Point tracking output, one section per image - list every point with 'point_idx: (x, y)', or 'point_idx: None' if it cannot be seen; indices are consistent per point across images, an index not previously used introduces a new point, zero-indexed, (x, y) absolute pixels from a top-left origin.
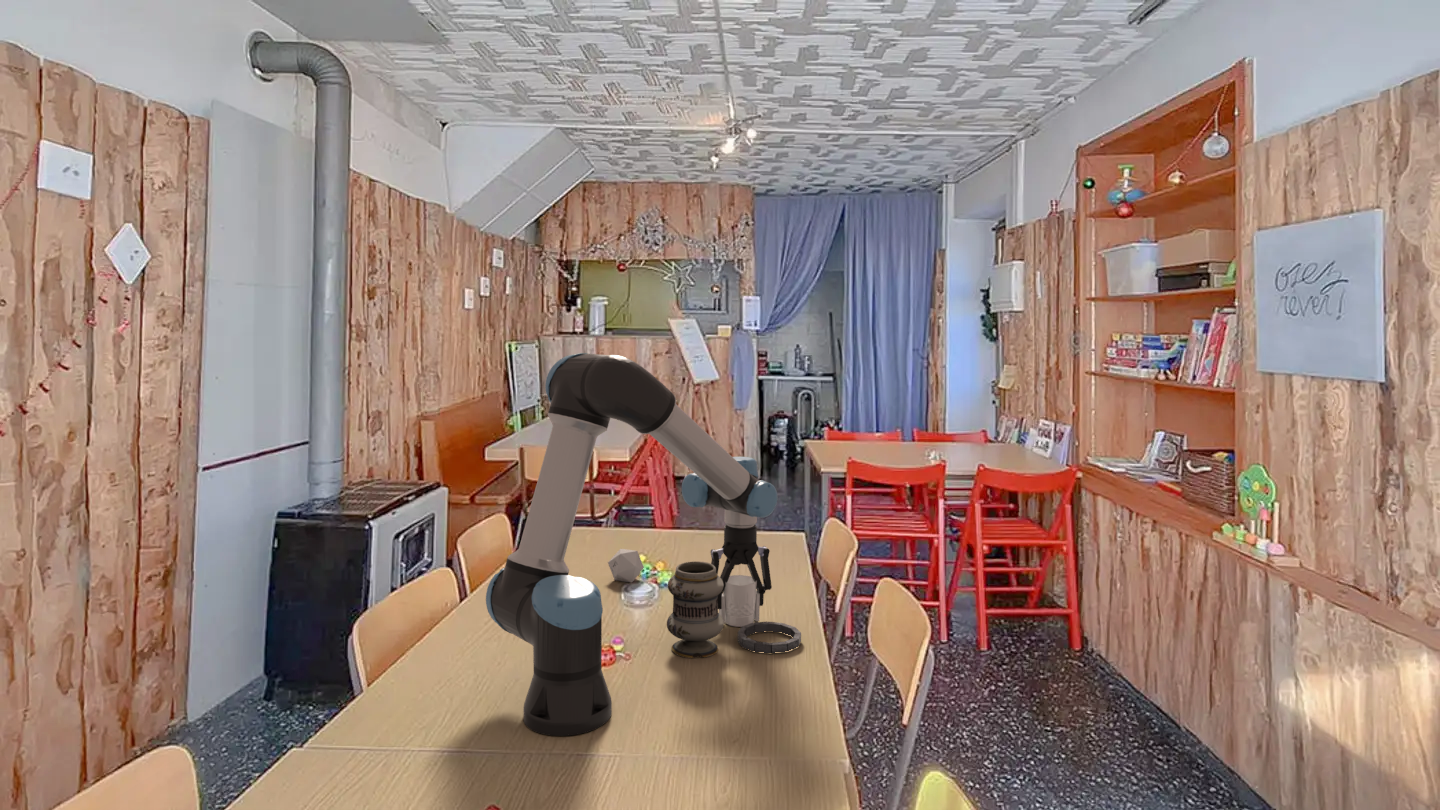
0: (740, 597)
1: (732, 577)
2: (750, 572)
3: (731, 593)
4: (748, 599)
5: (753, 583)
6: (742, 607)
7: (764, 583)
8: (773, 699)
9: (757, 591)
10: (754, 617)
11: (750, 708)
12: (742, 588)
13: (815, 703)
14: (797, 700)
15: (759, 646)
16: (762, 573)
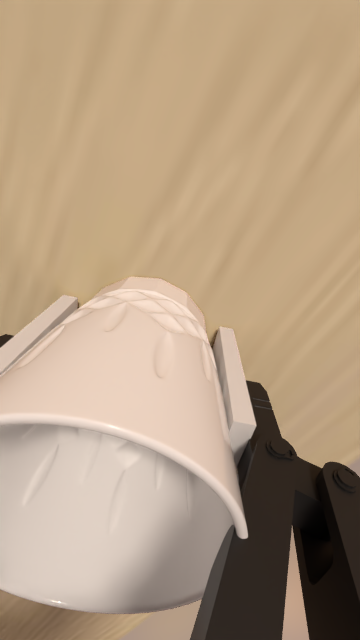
0: (79, 502)
1: (50, 409)
2: (203, 631)
3: (18, 496)
4: (132, 493)
5: (154, 610)
6: (111, 447)
7: (321, 505)
8: (58, 607)
9: (244, 450)
10: (213, 351)
11: (16, 609)
12: (66, 574)
13: (114, 627)
14: (92, 618)
15: None
16: (354, 615)
